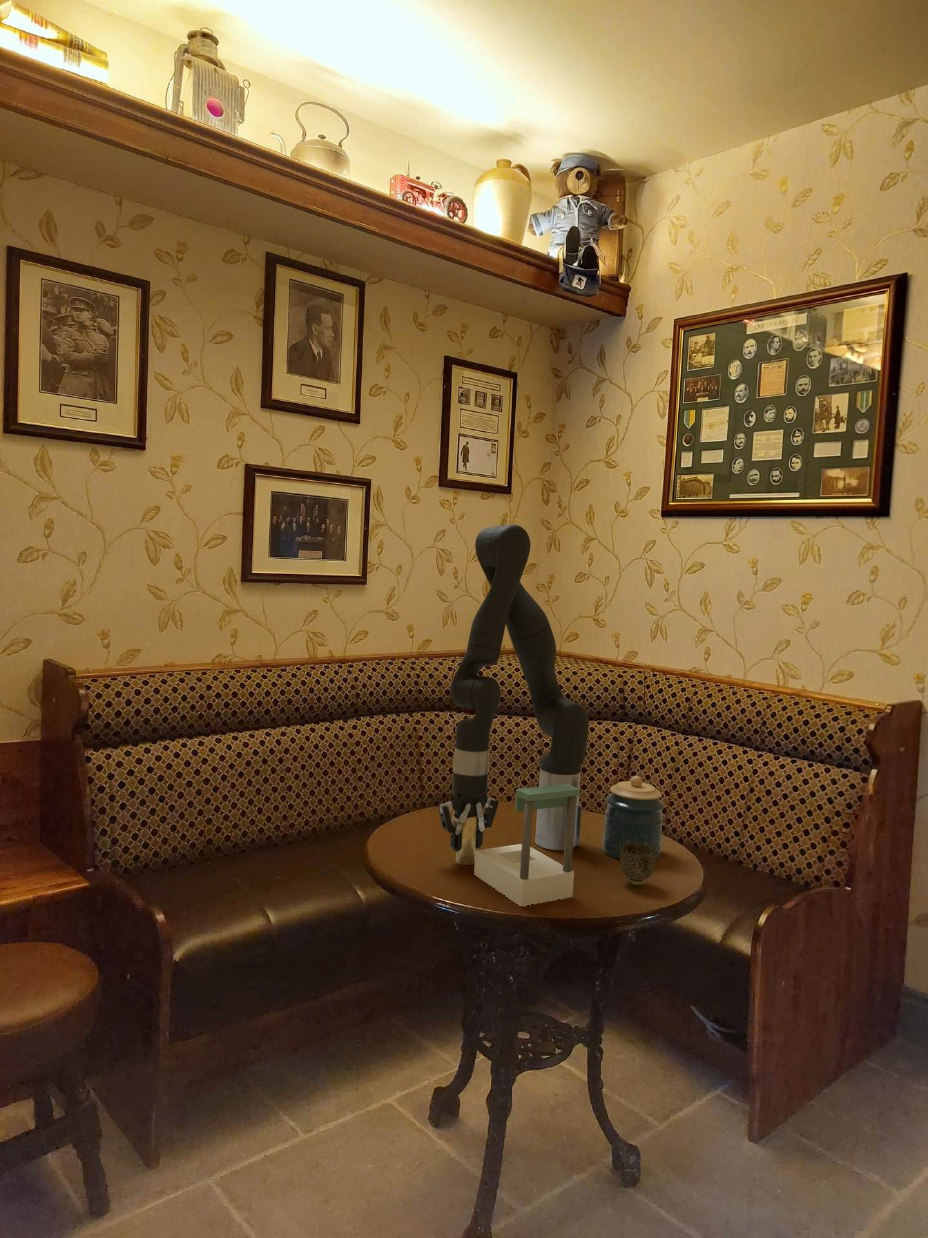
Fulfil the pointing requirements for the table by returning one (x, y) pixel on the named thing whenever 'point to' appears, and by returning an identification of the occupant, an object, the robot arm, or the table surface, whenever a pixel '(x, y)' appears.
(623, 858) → the cup
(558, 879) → the socket stand
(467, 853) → the brass peg
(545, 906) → the table surface
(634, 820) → the canister
